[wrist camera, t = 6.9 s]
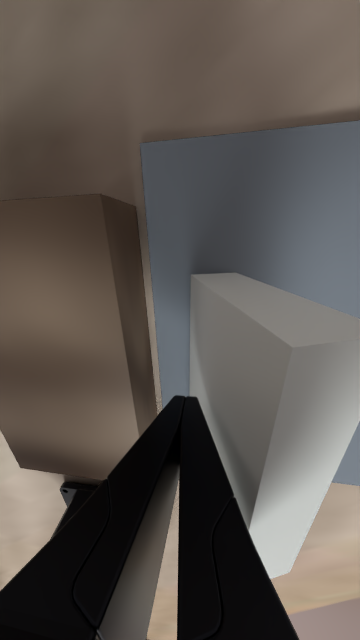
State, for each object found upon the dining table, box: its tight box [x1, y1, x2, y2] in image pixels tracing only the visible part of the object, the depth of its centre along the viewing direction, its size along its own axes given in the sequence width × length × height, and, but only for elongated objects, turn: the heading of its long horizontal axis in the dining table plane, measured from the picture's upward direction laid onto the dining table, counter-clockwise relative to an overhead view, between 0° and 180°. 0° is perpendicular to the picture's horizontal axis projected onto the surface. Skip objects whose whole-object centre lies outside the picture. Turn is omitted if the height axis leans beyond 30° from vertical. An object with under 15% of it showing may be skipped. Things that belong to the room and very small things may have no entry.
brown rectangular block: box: [0, 194, 157, 480], centre depth 10 cm, size 14×8×3 cm, turn 2°
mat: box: [140, 120, 360, 486], centre depth 10 cm, size 18×13×1 cm
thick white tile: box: [189, 273, 360, 579], centre depth 8 cm, size 9×6×2 cm
